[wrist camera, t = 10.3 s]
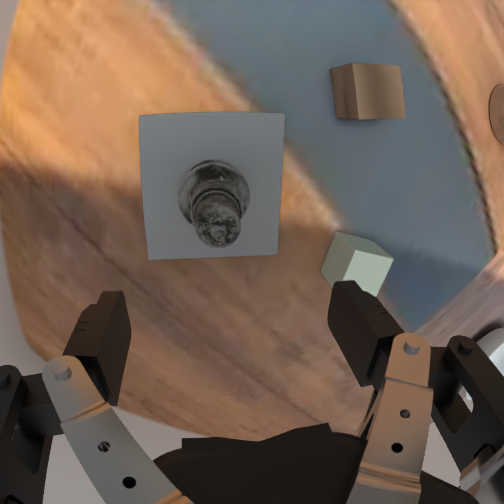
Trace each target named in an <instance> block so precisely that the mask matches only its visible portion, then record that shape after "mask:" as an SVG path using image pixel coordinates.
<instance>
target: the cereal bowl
mask: <svg viewBox="0 0 504 504" xmlns="http://www.w3.org/2000/svg"><path fill="white" fill-rule="evenodd" d="M476 343H477V344H478V345H479V346H480V348H481V349H482V350H483V351H484V352H485V354H486V355H487V356H488V357H489V358H490V360H491V361H492V362H493V363H494V365H495V366H496V367H497V368H498V370H499V371H500V372H501V373H502V375H503V376H504V328H498V329H495V330H493V331H491V332H490V333H488V334H487V335H485V336H484V337H482V338H481V339H479V340H478V341H477V342H476ZM461 391H462V393H463V394H464V396H465V397H466V398H467V399H468V400H472V398H471V397H470V395H469V394H468V392H467V391H466V389H465V388H464V386H463V387H462V388H461Z"/></svg>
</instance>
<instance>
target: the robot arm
mask: <svg viewBox="0 0 504 504" xmlns="http://www.w3.org/2000/svg"><path fill="white" fill-rule="evenodd" d="M489 109H490V121H491V126H492V129H493V132H494V134H495V136H496V138H497V139H498V140H499V142H501V143H502V144H504V84H499V85H498V86H496V87H495V89H494V90H493V92H492V95H491V99H490V106H489ZM328 325H329V328H330V330H331V332H332V334H333V336H334V338H335V340H336V341H337V343H338V345H339V347H340V349H341V351H342V353H343V354H344V356H345V358H346V360H347V362H348V364H349V366H350V368H351V369H352V371H353V373H354V375H355V377H356V379H357V381H358V383H359V385H360V386H361V387H364V386H369V385H373V387H374V390H373V393H372V395H371V398H370V401H369V404H368V407H367V410H366V413H365V416H364V419H363V422H362V425H361V428H360V430H359V433H358V435H357V436H354V435H351V434H346V433H339V432H332V431H331V429H330V426H329V424H328V423H324V424H319V425H314V426H308V427H302V428H296V429H293V430H290V431H287V432H285V433H282V434H279V435H277V436H274V437H271V438H268V439H266V440H263V441H246V440H237V439H230V438H222V437H209V438H182V448H181V449H176V450H173V451H171V452H168V453H165V454H163V455H161V456H159V457H158V458H156V459H154V460H153V461H152V460H151V459H150V458H149V456H148V455H147V454H146V453H145V452H144V450H143V449H142V448H141V447H140V445H139V444H138V443H137V442H136V440H135V439H134V438H133V436H132V435H131V434H130V432H129V431H128V430H127V428H126V427H125V426H124V424H123V423H122V421H121V420H120V419H119V417H118V416H117V415H116V413H115V412H114V410H113V409H112V407H111V406H117V403H118V398H119V393H120V387H121V382H122V378H123V373H124V368H125V363H126V359H127V354H128V350H129V346H130V341H131V325H130V320H129V316H128V311H127V307H126V302H125V297H124V294H123V292H122V291H103V292H102V293H101V295H100V297H99V299H98V302H97V304H90V305H89V306H88V307H87V308H86V309H85V310H84V311H83V312H82V313H81V315H80V317H79V319H78V323H76V326H75V328H74V331H73V332H72V334H71V336H70V339H69V341H68V343H67V345H66V348H65V350H64V352H63V355H62V356H59V357H56V358H54V359H52V360H51V361H49V362H48V363H47V364H46V365H45V367H44V368H43V371H42V373H40V374H34V375H28V376H22V375H21V373H20V372H19V370H18V369H17V368H16V367H14V366H12V365H3V366H0V504H42V502H43V494H44V486H45V479H46V473H47V466H48V461H49V455H50V450H51V444H52V439H53V435H60V434H65V436H66V438H67V440H68V442H69V443H70V445H71V447H72V449H73V451H74V453H75V455H76V456H77V458H78V460H79V462H80V464H81V465H82V467H83V469H84V470H85V472H86V474H87V475H88V477H89V479H90V480H91V482H92V483H93V485H94V486H95V488H96V490H97V491H98V493H99V494H100V496H101V497H102V499H103V500H104V502H105V503H106V504H504V376H503V375H502V373H501V372H500V371H499V370H498V368H497V367H496V366H495V365H494V363H493V362H492V361H491V360H490V358H489V357H488V356H487V355H486V354H485V352H484V351H483V350H482V349H481V348H480V346H479V345H478V344H477V343H476V342H475V341H474V340H472V339H470V338H468V337H466V336H461V335H458V336H453V337H452V338H451V339H450V340H449V342H448V345H447V347H430V345H429V343H428V342H427V341H426V340H425V339H424V338H422V337H420V336H418V335H416V334H412V333H405V332H404V331H403V330H402V328H401V327H400V326H399V325H398V323H397V322H396V321H395V320H394V318H393V317H392V316H391V315H390V313H388V311H387V310H386V308H385V307H383V305H382V304H381V302H380V301H379V300H378V299H377V298H376V297H375V296H373V295H372V294H370V293H369V292H367V291H363V290H362V289H361V287H360V286H359V285H358V284H357V283H356V281H355V280H345V281H336V282H335V283H334V285H333V289H332V294H331V300H330V305H329V310H328ZM463 386H464V388H465V389H466V391H467V392H468V394H469V395H470V397H471V398H472V400H473V411H472V413H471V412H470V410H469V409H468V407H467V406H466V404H465V402H464V401H463V399H462V398H461V396H460V395H459V391H460V390H461V388H462V387H463ZM431 417H432V419H433V421H434V423H435V424H436V426H437V428H438V430H439V432H440V434H441V436H442V437H443V439H444V441H445V443H446V445H447V447H448V449H449V451H450V453H451V454H452V457H453V459H454V460H455V463H456V465H457V467H458V469H459V471H460V473H461V476H460V486H459V487H458V488H457V487H455V486H453V485H451V484H449V483H447V482H444V481H442V480H440V479H438V478H436V477H434V476H432V475H430V474H428V473H426V472H424V471H422V470H421V469H422V465H423V460H424V455H425V449H426V444H427V438H428V431H429V425H430V418H431ZM13 433H14V434H13ZM12 437H13V438H12Z"/></svg>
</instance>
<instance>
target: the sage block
mask: <svg viewBox="0 0 504 504" xmlns="http://www.w3.org/2000/svg"><path fill="white" fill-rule="evenodd" d="M392 262H393V258H392V257H391V256H390V255H388V254H387V253H386V252H385V251H384V250H383V249H382V248H380V247H379V246H378V245H377V244H376V243H375V242H373V241H372V240H369V239H365V238H362V237H358V236H354V235H350V234H346V233H342V232H338V231H336V232H335V235H334V238H333V240H332V243H331V245H330V248H329V251H328V253H327V256H326V258H325V261H324V263H323V266H322V269H321V273H322V274H323V276H324V277H325V279H326V280H327V281H328V283H329V284H330V286H331V287H332V289H333V285H334V283H335V282H336V281H345V280H355V281H356V283H357V284H358V285H359V286H360V287H361V289H362V290H363V291H367V292H369V293H370V294H372V295H373V296H375V297H376V296H377V294H378V292H379V290H380V288H381V286H382V283H383V281H384V279H385V277H386V275H387V273H388V271H389V268H390V266H391V264H392Z"/></svg>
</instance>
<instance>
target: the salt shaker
mask: <svg viewBox="0 0 504 504" xmlns="http://www.w3.org/2000/svg"><path fill="white" fill-rule="evenodd" d="M249 202H250V190H249V187H248V184H247V181H246V180H245V178H244V177H243V175H242V174H241V173H240V172H239V171H238V170H236V169H235V168H234V167H232V166H230V165H229V164H228V163H226V162H223V161H220V160H206V161H203V162H201V163H198V164H197V165H196V166H194V167H193V168H192V169H191V170H190V172H189V173H188V174H187V175H186V176H185V178H184V179H183V180H182V183H181V185H180V188H179V192H178V203H179V208H180V210H181V213H182V215H183V216H184V218H185V219H186V220H187V221H188V222H189V223H190V224H191V225H193V226H194V227H195V229H196V233H197V235H198V237H199V239H200V240H201V241H202V242H203V243H204V244H206V245H207V246H209V247H212V248H225V247H227V246H230V245H231V244H233V243H234V242H235V241H236V239H237V238H238V236H239V234H240V230H241V222H240V220H241V219H242V218H243V216H244V215H245V213H246V211H247V209H248V207H249Z"/></svg>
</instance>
